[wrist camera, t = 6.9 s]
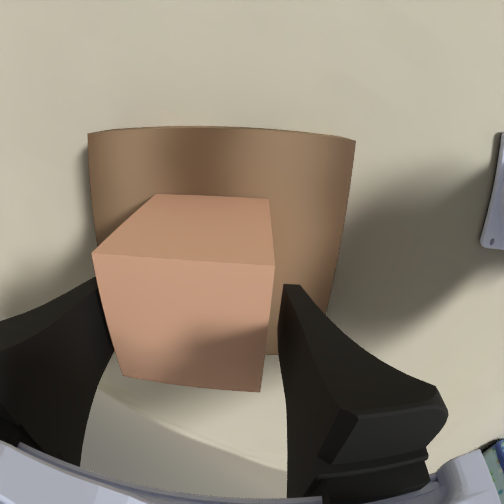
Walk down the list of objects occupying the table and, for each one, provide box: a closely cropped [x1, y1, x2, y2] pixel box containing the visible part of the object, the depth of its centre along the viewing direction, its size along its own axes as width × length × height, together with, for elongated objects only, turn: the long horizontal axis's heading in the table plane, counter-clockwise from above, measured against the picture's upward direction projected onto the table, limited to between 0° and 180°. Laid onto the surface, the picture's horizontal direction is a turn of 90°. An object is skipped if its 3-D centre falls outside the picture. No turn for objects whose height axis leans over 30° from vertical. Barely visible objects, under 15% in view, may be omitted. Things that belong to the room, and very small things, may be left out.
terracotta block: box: [92, 194, 275, 392], centre depth 11 cm, size 5×5×6 cm
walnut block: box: [88, 126, 356, 355], centre depth 16 cm, size 12×12×3 cm
